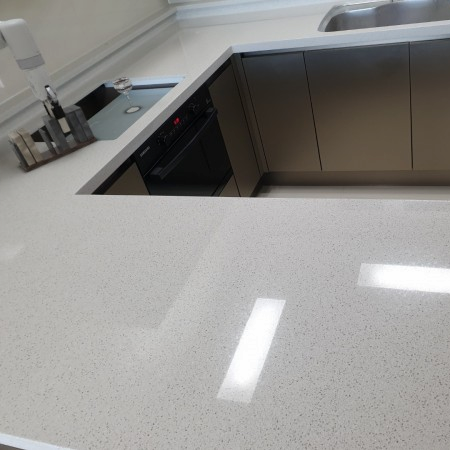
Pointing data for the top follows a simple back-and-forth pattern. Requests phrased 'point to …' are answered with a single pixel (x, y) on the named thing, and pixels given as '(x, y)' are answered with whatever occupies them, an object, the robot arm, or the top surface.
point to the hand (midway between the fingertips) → (57, 115)
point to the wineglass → (124, 89)
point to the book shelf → (30, 152)
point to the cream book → (61, 122)
